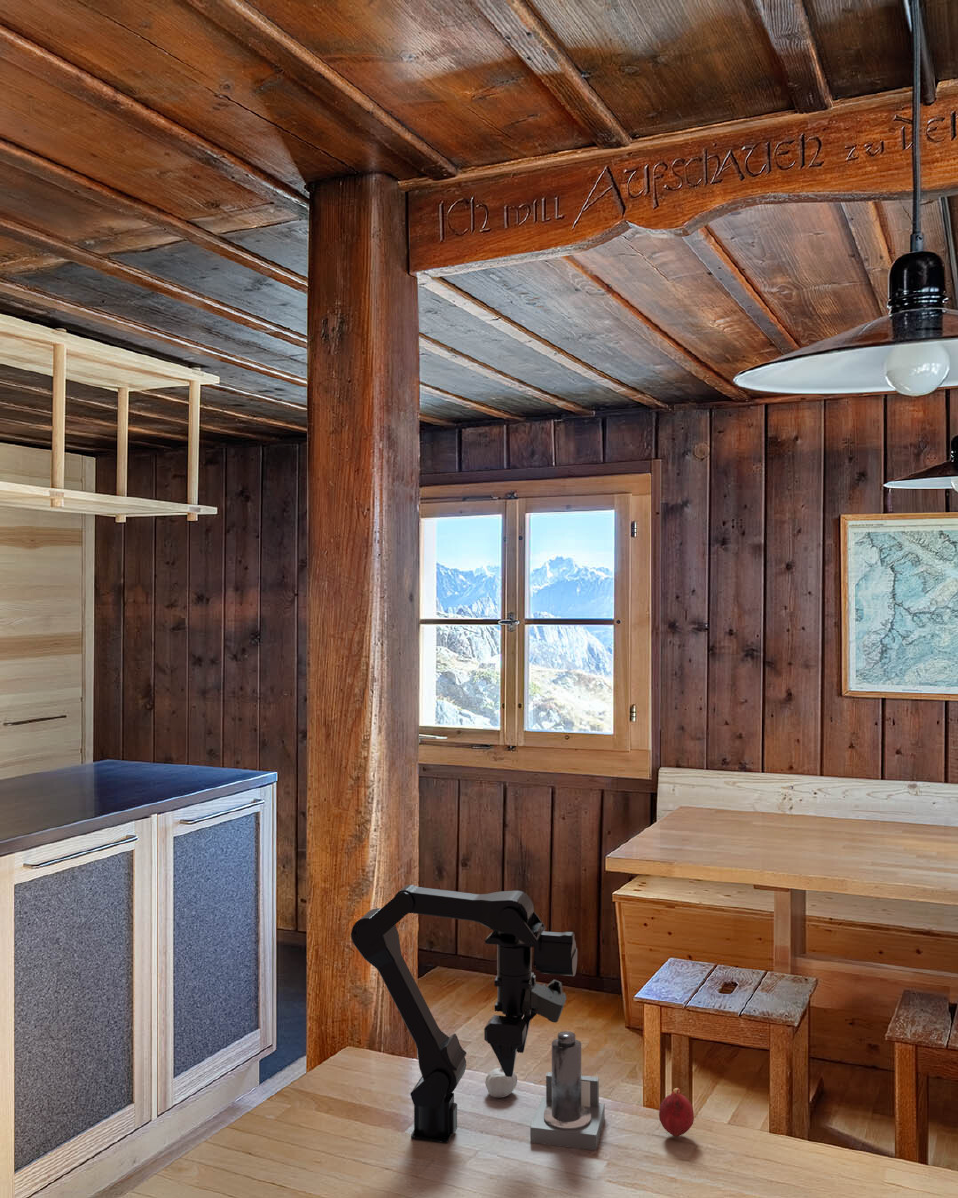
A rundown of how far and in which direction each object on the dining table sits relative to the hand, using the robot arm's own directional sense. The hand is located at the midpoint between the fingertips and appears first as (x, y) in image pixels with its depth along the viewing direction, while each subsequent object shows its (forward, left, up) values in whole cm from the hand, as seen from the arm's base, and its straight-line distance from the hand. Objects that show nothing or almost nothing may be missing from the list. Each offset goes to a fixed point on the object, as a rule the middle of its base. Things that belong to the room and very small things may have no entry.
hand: (514, 1064), depth 176 cm
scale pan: (+8, +5, -10) cm, 14 cm away
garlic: (-6, +16, -13) cm, 22 cm away
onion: (+26, +8, -13) cm, 30 cm away
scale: (+8, +6, -13) cm, 16 cm away
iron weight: (+8, +5, -10) cm, 14 cm away
